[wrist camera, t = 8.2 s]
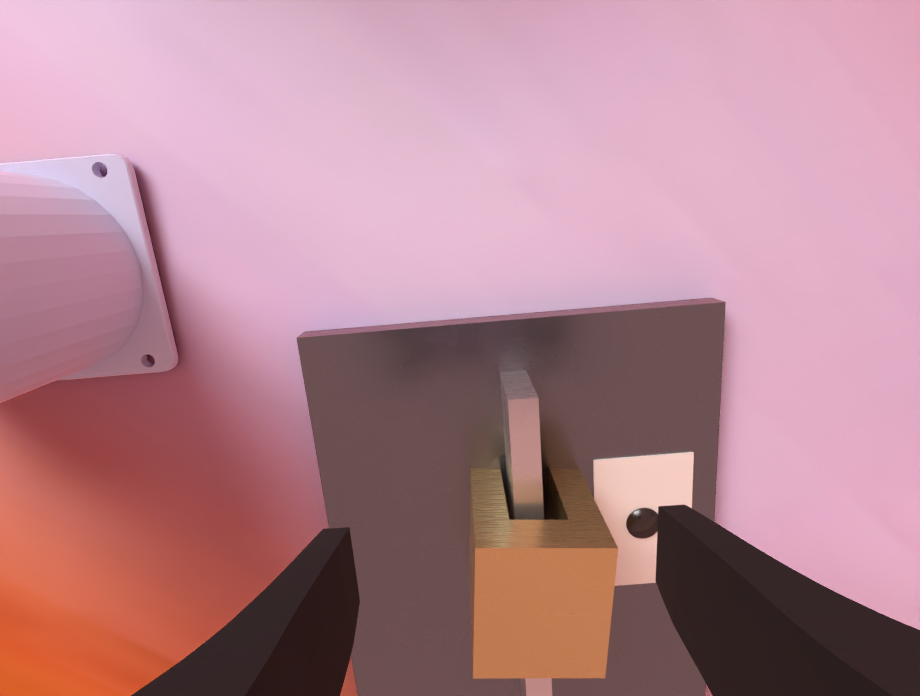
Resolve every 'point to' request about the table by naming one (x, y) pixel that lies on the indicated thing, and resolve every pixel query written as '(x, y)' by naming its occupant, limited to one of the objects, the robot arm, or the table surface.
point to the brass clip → (540, 582)
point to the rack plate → (512, 472)
